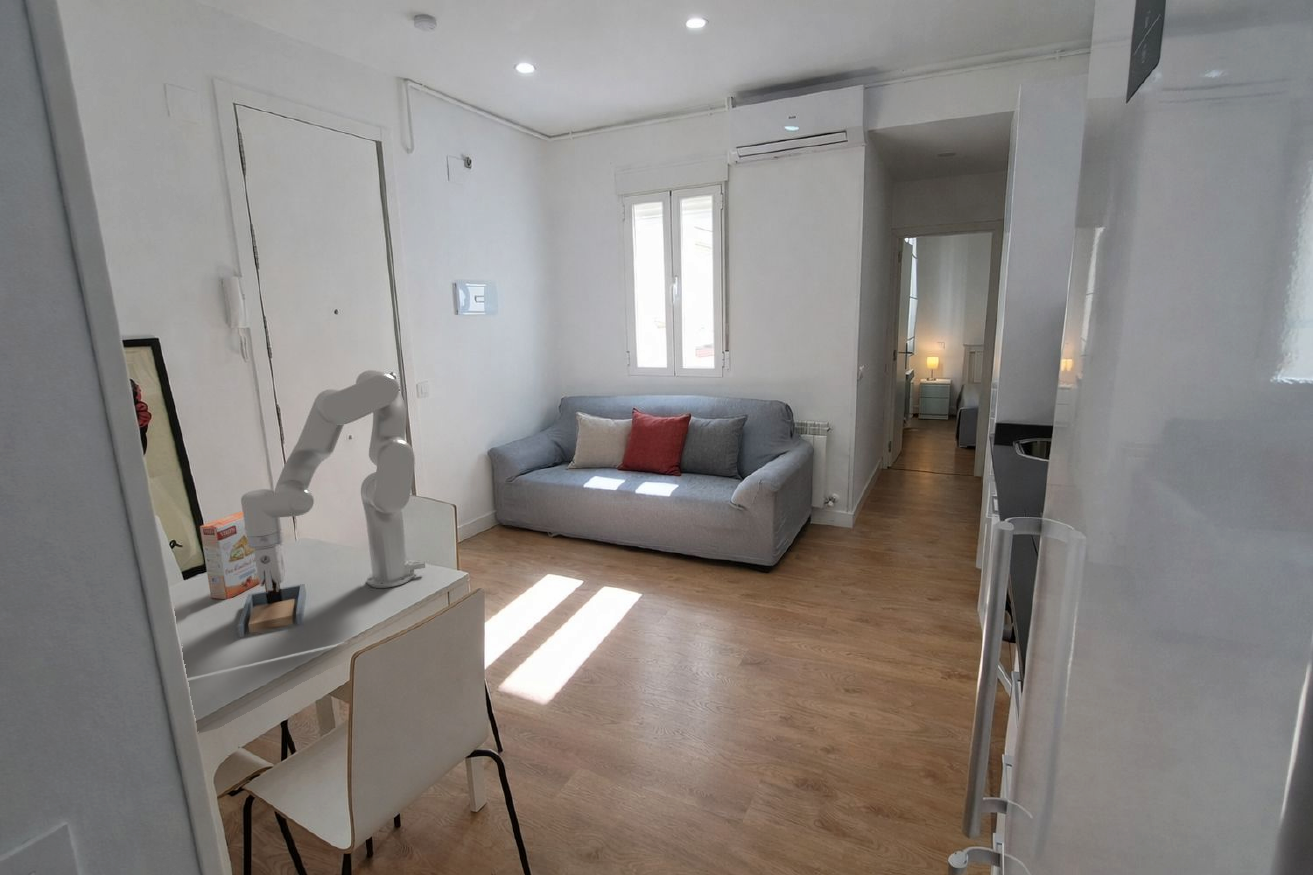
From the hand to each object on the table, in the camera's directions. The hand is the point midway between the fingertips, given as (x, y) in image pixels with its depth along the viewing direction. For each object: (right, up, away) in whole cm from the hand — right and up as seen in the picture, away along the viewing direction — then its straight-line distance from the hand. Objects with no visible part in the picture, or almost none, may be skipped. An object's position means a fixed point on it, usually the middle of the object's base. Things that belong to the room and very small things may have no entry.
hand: (275, 605), depth 158 cm
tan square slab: (+3, -2, -6) cm, 7 cm away
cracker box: (-18, +1, +14) cm, 23 cm away
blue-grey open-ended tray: (+2, -2, -3) cm, 4 cm away
